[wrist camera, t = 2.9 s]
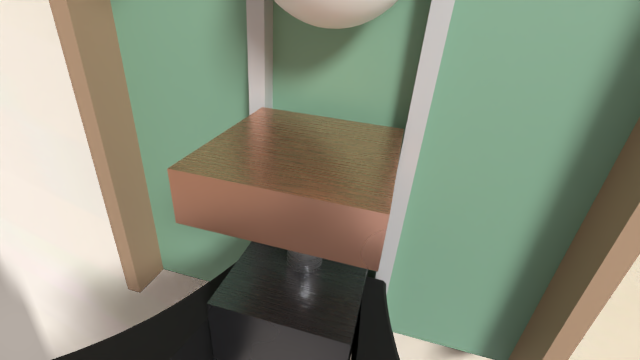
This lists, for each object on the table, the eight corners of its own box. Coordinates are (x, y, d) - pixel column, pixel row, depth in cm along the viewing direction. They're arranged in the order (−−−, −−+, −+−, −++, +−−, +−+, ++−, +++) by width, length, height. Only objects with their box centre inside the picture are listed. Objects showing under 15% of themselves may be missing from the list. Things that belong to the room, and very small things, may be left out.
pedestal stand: (363, 330, 14) (336, 471, 10) (269, 304, 14) (208, 424, 10) (405, 122, 9) (389, 215, 5) (270, 101, 10) (167, 168, 6)
